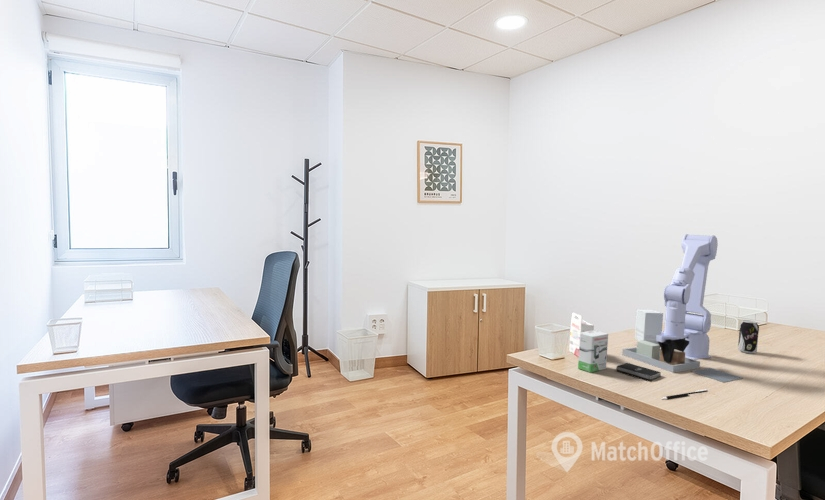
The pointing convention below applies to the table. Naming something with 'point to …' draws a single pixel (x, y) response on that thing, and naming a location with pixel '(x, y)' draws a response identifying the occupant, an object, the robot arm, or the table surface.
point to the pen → (683, 394)
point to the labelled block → (675, 357)
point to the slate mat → (717, 375)
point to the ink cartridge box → (577, 332)
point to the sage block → (648, 349)
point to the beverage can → (748, 336)
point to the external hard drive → (638, 371)
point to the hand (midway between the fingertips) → (672, 361)
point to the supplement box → (648, 325)
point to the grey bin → (687, 365)
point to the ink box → (593, 351)
